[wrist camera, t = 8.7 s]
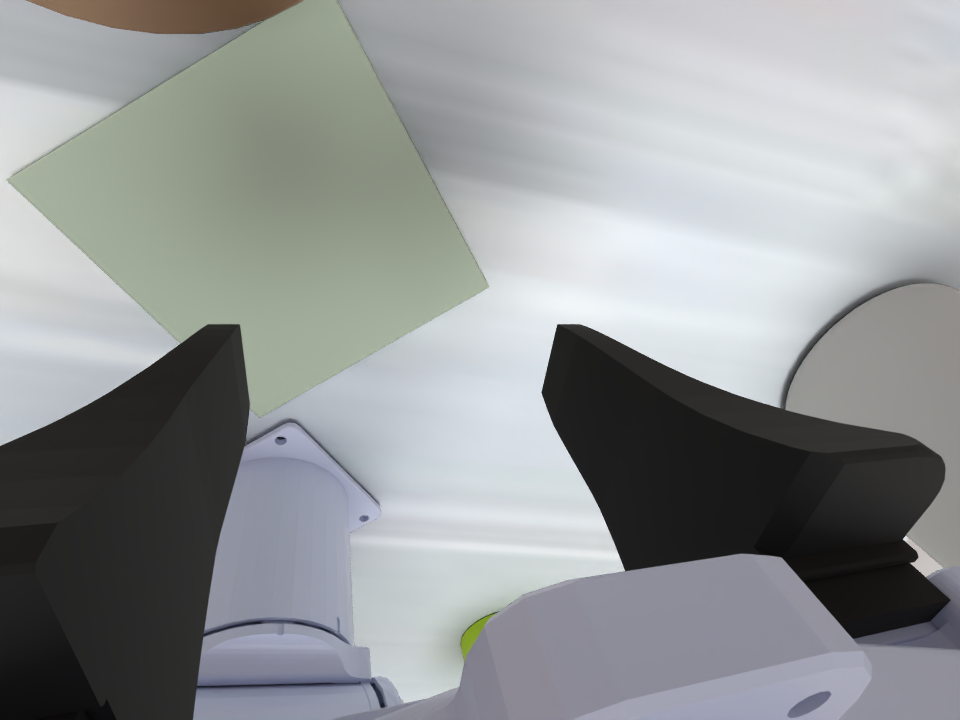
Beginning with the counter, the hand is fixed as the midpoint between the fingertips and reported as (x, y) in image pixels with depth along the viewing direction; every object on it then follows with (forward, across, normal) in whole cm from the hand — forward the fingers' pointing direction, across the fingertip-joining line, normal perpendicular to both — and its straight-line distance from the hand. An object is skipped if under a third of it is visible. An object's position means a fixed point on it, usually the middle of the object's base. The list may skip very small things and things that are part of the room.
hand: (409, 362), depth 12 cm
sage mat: (+10, +3, +1) cm, 11 cm away
